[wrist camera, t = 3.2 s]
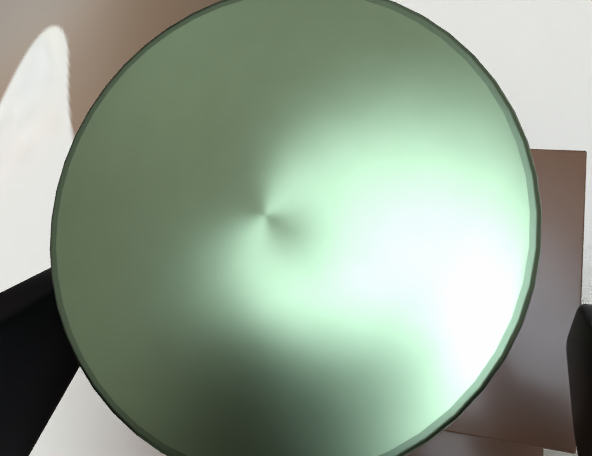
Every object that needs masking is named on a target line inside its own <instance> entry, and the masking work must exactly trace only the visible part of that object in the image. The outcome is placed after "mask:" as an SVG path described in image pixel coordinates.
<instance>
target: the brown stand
mask: <svg viewBox="0 0 592 456" xmlns="http://www.w3.org/2000/svg"><path fill="white" fill-rule="evenodd" d="M530 151H531V154H532V158H533V162H534V165H535V169H536V173H537V176H538V184H539V192H540V201H541V209H542V234H541V254H540V260H539V266H538V271H537V277H536V283H535V288H534V291H533V294H532V298H531V301H530V304H529V307H528V310H527V313H526V316H525V319H524V322H523V325H522V327H521V329H520V331H519V333H518V335H517V337H516V339H515V341H514V343H513V345H512V347H511V349H510V351H509V353H508V355H507V357H506V359H505V360H504V362H503V363H502V365H501V366H500V368H499V369H498V371H497V372H496V374H495V375H494V377H493V378H492V379H491V381H490V382H489V384H488V385H487V387H486V388H485V390H484V391H483V392H482V393H481V394H480V395H479V396H478V397H477V398H476V399H475V401H474V402H473V403H472V404H471V405H470V406H469V407H468V408H467V409H466V410H465V411H464V412H463V414H462V415H461V416H460V417H459V418H458V419H457V420H455V421H454V422H453V423H452V424H450V425H449V426H448V427H447V428H446V429H444V430H443V431H442V432H441V433H439V434H438V435H437V436H436V437H434V438H433V439H432V440H431V441H429V442H428V443H426V444H425V445H423V446H421V447H420V448H418V449H416V450H415V451H413V452H411V453H410V454H408V455H406V456H543V448H545V449H551V450H556V451H562V452H568V453H573V454H574V453H576V442H575V436H574V428H573V418H572V408H571V397H570V387H569V376H568V366H567V355H566V342H567V337H568V334H569V331H570V328H571V325H572V322H573V319H574V317H575V314H576V311H577V309H578V307H579V306H580V305H581V295H582V267H583V239H584V211H585V184H586V156H587V152H586V151H572V150H544V149H530Z"/></svg>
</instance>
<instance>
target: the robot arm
mask: <svg viewBox="0 0 592 456" xmlns="http://www.w3.org/2000/svg"><path fill="white" fill-rule="evenodd" d="M566 355H567V366H568V376H569V387H570V397H571V408H572V418H573V428H574V436H575V442H576V447H577V452H578V456H592V305H590V304H582V305H580V306H579V307H578V309H577V311H576V314H575V317H574V319H573V322H572V325H571V328H570V331H569V334H568V337H567V342H566ZM79 367H80V365H79V364H78V362H77V360H76V357H75V355H74V353H73V351H72V348H71V346H70V344H69V342H68V339H67V337H66V335H65V332H64V328H63V325H62V322H61V319H60V315H59V312H58V309H57V305H56V299H55V293H54V288H53V282H52V275H51V268H49V269H47V270H45V271H43V272H41V273H39V274H37V275H35V276H33V277H31V278H29V279H27V280H25V281H23V282H21V283H19V284H17V285H15V286H13V287H11V288H9V289H7V290H5V291H3V292H1V293H0V456H29V454H30V453H31V451H32V449H33V447H34V446H35V444H36V442H37V440H38V439H39V437H40V435H41V433H42V432H43V430H44V428H45V426H46V425H47V423H48V421H49V419H50V418H51V416H52V414H53V412H54V411H55V409H56V407H57V405H58V404H59V402H60V400H61V398H62V397H63V395H64V393H65V391H66V390H67V388H68V386H69V384H70V383H71V381H72V379H73V377H74V375H75V374H76V372H77V370H78V368H79Z"/></svg>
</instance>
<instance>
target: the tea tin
mask: <svg viewBox="0 0 592 456" xmlns="http://www.w3.org/2000/svg"><path fill="white" fill-rule="evenodd" d="M541 234H542V209H541V201H540V192H539V184H538V176H537V173H536V169H535V165H534V162H533V158H532V154H531V151H530V147H529V144H528V141H527V138H526V136H525V134H524V132H523V129H522V127H521V125H520V122H519V120H518V118H517V116H516V113H515V111H514V109H513V108H512V106H511V104H510V103H509V101H508V100H507V98H506V96H505V95H504V93H503V92H502V90H501V88H500V87H499V85H498V84H497V82H496V81H495V79H494V78H493V77H492V76H491V75H490V73H489V72H488V71H487V70H486V69H485V68H484V66H483V65H482V64H481V63H480V62H479V60H478V59H477V58H476V57H475V56H474V55H473V54H472V53H471V52H470V51H469V50H468V49H467V48H465V47H464V46H463V45H462V44H461V43H460V42H459V41H458V40H456V39H455V38H454V37H453V36H452V35H451V34H450V33H448V32H447V31H445V30H444V29H442V28H441V27H439V26H438V25H436V24H435V23H433V22H432V21H430V20H429V19H427V18H426V17H424V16H423V15H421V14H419V13H417V12H414V11H412V10H410V9H408V8H406V7H404V6H402V5H400V4H398V3H396V2H393V1H390V0H222V1H219V2H217V3H215V4H213V5H210V6H208V7H206V8H203V9H201V10H199V11H197V12H195V13H193V14H191V15H189V16H187V17H186V18H184V19H182V20H181V21H179V22H177V23H176V24H174V25H172V26H170V27H169V28H167V29H166V30H165V31H163V32H162V33H161V34H159V35H158V36H157V37H155V38H154V39H153V40H151V41H150V42H149V43H147V44H146V45H145V46H144V47H143V48H142V49H140V50H139V51H138V52H137V53H136V54H135V55H134V56H133V57H132V58H131V59H130V60H129V61H128V62H127V63H126V64H124V66H123V67H122V68H121V69H120V70H119V71H118V73H117V74H116V75H115V76H114V77H113V78H112V79H111V81H110V82H109V83H108V84H107V85H106V87H105V88H104V89H103V91H102V92H101V94H100V95H99V97H98V98H97V99H96V101H95V102H94V104H93V105H92V107H91V108H90V110H89V112H88V113H87V115H86V117H85V119H84V121H83V122H82V124H81V126H80V128H79V130H78V132H77V134H76V135H75V138H74V140H73V143H72V145H71V148H70V150H69V152H68V155H67V157H66V160H65V162H64V166H63V169H62V173H61V176H60V180H59V183H58V187H57V190H56V196H55V202H54V208H53V214H52V221H51V238H50V257H51V275H52V282H53V288H54V293H55V299H56V305H57V309H58V312H59V315H60V319H61V322H62V325H63V328H64V332H65V335H66V337H67V339H68V342H69V344H70V346H71V348H72V351H73V353H74V355H75V357H76V360H77V362H78V364H79V365H80V367H81V369H82V370H83V372H84V374H85V375H86V377H87V379H88V380H89V382H90V383H91V385H92V387H93V388H94V390H95V391H96V392H97V393H98V395H99V396H100V397H101V398H102V400H103V401H104V402H105V403H106V405H107V406H108V407H109V408H110V410H111V411H112V412H113V413H114V414H115V415H116V416H117V417H118V418H119V419H120V420H121V421H122V422H123V423H124V424H125V425H126V426H128V427H129V428H130V429H131V430H132V431H133V432H134V433H135V434H136V435H137V436H139V437H140V438H142V439H143V440H144V441H146V442H147V443H149V444H150V445H151V446H153V447H154V448H156V449H157V450H158V451H160V452H161V453H163V454H165V455H167V456H406V455H408V454H410V453H411V452H413V451H415V450H416V449H418V448H420V447H421V446H423V445H425V444H426V443H428V442H429V441H431V440H432V439H433V438H434V437H436V436H437V435H438V434H439V433H441V432H442V431H443V430H444V429H446V428H447V427H448V426H449V425H450V424H452V423H453V422H454V421H455V420H457V419H458V418H459V417H460V416H461V415H462V414H463V412H464V411H465V410H466V409H467V408H468V407H469V406H470V405H471V404H472V403H473V402H474V401H475V399H476V398H477V397H478V396H479V395H480V394H481V393H482V392H483V391H484V390H485V388H486V387H487V385H488V384H489V382H490V381H491V379H492V378H493V377H494V375H495V374H496V372H497V371H498V369H499V368H500V366H501V365H502V363H503V362H504V360H505V359H506V357H507V355H508V353H509V351H510V349H511V347H512V345H513V343H514V341H515V339H516V337H517V335H518V333H519V331H520V329H521V327H522V325H523V322H524V319H525V316H526V313H527V310H528V307H529V304H530V301H531V298H532V294H533V291H534V288H535V283H536V277H537V271H538V266H539V260H540V254H541Z"/></svg>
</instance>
